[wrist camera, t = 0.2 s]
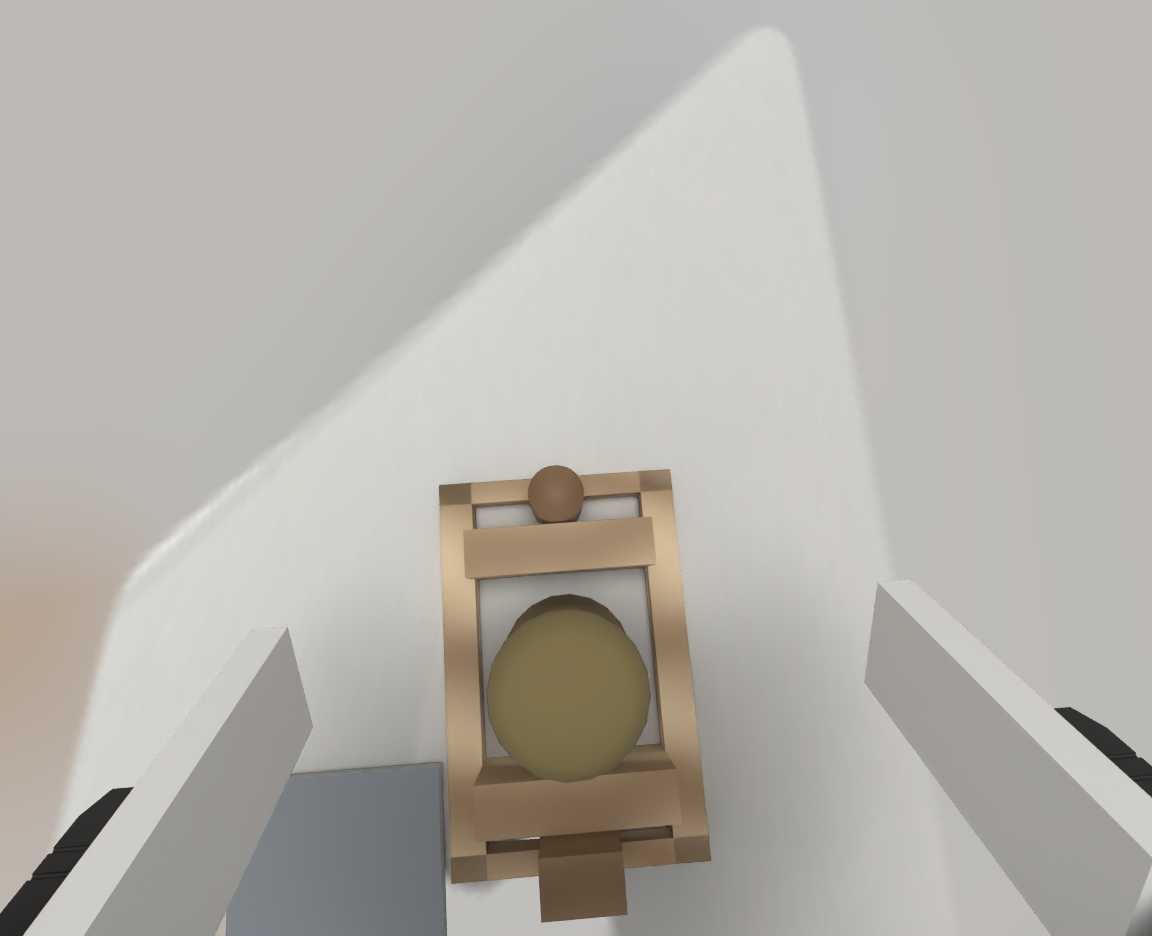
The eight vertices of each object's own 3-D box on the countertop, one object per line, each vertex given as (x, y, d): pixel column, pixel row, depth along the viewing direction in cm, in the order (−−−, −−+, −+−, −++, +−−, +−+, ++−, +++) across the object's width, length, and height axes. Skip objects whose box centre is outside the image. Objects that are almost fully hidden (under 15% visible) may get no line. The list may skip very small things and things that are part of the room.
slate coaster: (448, 989, 26) (444, 1001, 25) (233, 1009, 26) (223, 1022, 25) (441, 762, 28) (438, 767, 27) (240, 778, 28) (230, 784, 27)
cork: (584, 569, 30) (595, 557, 19) (657, 677, 29) (712, 731, 18) (478, 641, 29) (426, 673, 18) (549, 755, 28) (539, 860, 17)
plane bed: (704, 848, 27) (743, 920, 21) (456, 870, 27) (425, 949, 21) (665, 473, 31) (689, 446, 25) (443, 489, 30) (414, 464, 24)
